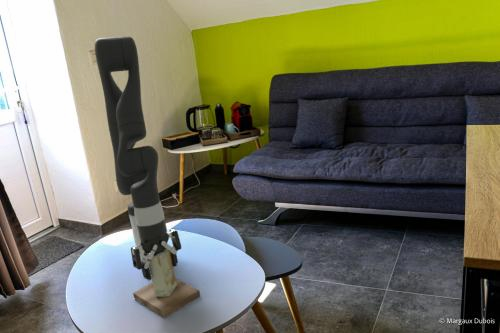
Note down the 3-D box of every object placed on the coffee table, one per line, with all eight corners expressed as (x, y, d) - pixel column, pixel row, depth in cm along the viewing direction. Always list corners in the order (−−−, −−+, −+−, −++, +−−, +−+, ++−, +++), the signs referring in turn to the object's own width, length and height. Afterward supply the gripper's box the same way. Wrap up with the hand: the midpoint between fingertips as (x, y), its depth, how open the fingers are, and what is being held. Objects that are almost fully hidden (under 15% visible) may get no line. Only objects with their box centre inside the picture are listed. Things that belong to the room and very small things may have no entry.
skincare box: (169, 297, 119) (161, 257, 116) (155, 297, 120) (146, 257, 117) (177, 284, 125) (170, 246, 122) (163, 284, 126) (155, 247, 123)
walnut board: (134, 298, 125) (132, 292, 124) (168, 280, 133) (167, 274, 132) (164, 318, 114) (163, 311, 113) (200, 296, 121) (199, 290, 121)
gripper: (164, 207, 124) (174, 258, 128) (119, 226, 115) (132, 280, 119) (179, 212, 119) (189, 265, 123) (134, 232, 109) (146, 288, 114)
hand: (161, 272), depth 121 cm, fingers open, 8 cm apart
